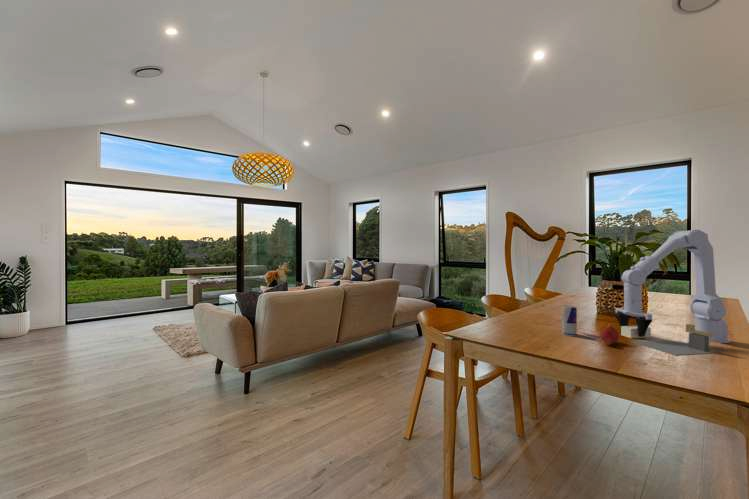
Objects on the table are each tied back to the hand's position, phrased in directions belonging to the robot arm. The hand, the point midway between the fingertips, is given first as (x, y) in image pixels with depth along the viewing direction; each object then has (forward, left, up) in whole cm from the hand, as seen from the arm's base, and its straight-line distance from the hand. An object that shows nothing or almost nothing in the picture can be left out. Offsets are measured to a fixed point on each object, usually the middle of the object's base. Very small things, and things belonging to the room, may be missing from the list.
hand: (632, 334), depth 140 cm
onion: (+17, +6, -2) cm, 18 cm away
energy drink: (+21, -10, -2) cm, 23 cm away
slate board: (-1, +14, -2) cm, 14 cm away
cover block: (-1, 0, -2) cm, 3 cm away
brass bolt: (-7, +19, +4) cm, 21 cm away
